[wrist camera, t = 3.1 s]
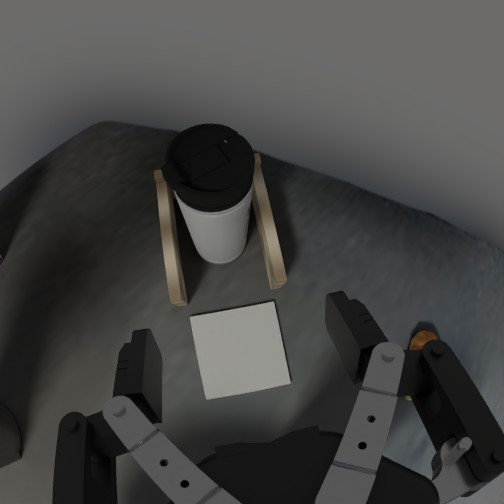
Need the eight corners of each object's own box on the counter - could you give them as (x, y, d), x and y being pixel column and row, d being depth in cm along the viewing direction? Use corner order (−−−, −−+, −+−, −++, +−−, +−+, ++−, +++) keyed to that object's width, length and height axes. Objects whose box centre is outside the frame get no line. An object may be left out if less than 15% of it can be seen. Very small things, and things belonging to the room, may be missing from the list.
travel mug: (183, 235, 40) (143, 146, 20) (227, 208, 41) (224, 103, 22) (210, 277, 39) (188, 214, 19) (255, 247, 40) (276, 162, 21)
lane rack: (280, 287, 39) (288, 278, 33) (178, 306, 37) (168, 300, 32) (255, 177, 42) (259, 153, 37) (163, 192, 41) (153, 170, 35)
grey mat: (290, 382, 36) (290, 383, 35) (206, 399, 35) (206, 399, 34) (273, 301, 38) (273, 301, 38) (190, 317, 37) (189, 316, 37)
